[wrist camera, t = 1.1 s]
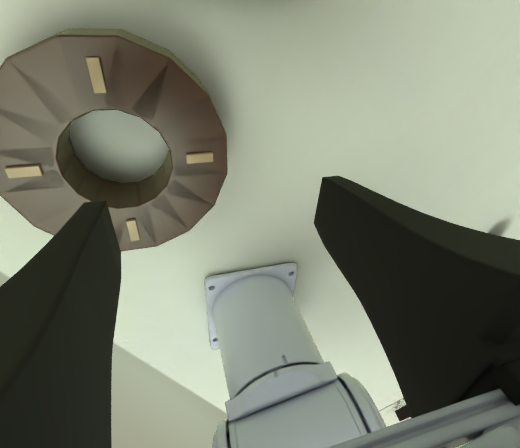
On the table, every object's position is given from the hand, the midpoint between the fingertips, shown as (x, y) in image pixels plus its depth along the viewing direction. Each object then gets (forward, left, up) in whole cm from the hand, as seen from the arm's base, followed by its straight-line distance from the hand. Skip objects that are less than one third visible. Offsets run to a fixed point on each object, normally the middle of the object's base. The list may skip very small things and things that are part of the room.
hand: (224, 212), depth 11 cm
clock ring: (-1, +4, -10) cm, 11 cm away
